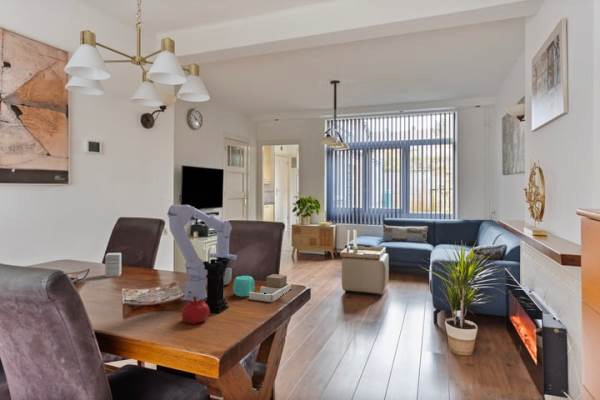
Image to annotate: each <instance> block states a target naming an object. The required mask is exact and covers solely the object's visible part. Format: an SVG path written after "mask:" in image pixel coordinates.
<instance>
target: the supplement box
mask: <svg viewBox="0 0 600 400" xmlns="http://www.w3.org/2000/svg"><path fill="white" fill-rule="evenodd" d="M104 257H105V262H104V263H105V265H104V266H105V268H104V269H105V270H104V273H105V274H104V275H105V278H115V277H120V276H121V275H122V252H107V253H106V254H105V256H104Z"/></svg>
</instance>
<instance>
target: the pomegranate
mask: <svg viewBox="0 0 600 400" xmlns="http://www.w3.org/2000/svg"><path fill="white" fill-rule="evenodd" d="M193 298H194V301H190V300H187V303H186V304H185V305H184V306H183V307H182V310H181V319H182V320H183V322H184V323H186V324H191V325H196V324H199V323H202V322H205V321H206V320H207V319H208V317H209V316H210V315H209V314H211V313H210V309H209V306H208V305H207V303H205V302H204V301H205V300H204V299H201V300H199V301H196V297H195V296H194V297H193Z"/></svg>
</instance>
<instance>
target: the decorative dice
mask: <svg viewBox="0 0 600 400" xmlns="http://www.w3.org/2000/svg"><path fill="white" fill-rule="evenodd" d="M233 280H234V281H233V283H232V292H233V293H234V295H235V296H236V297H240V298H241V297H243V298H244V297H249V292H254V291H255V284H256V283H255V279H254V278H253V277H252V276H250V275H240V276H239V275H237V276H236V277H235V278H234V279H233Z"/></svg>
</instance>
